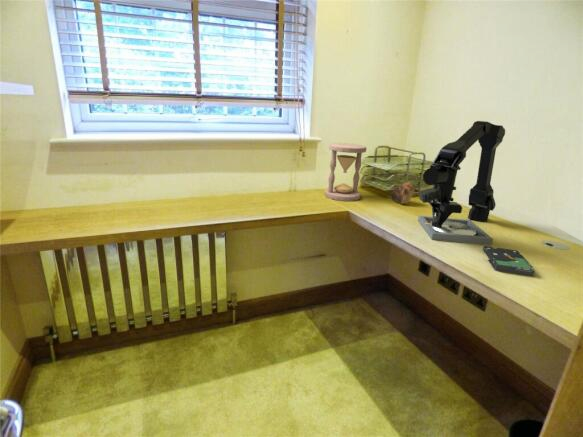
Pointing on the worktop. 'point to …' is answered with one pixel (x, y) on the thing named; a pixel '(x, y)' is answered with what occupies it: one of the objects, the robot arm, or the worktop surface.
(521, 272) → the disk drive
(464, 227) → the dial
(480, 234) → the dial housing
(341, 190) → the hourglass
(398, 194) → the decorative rock
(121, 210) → the worktop surface
